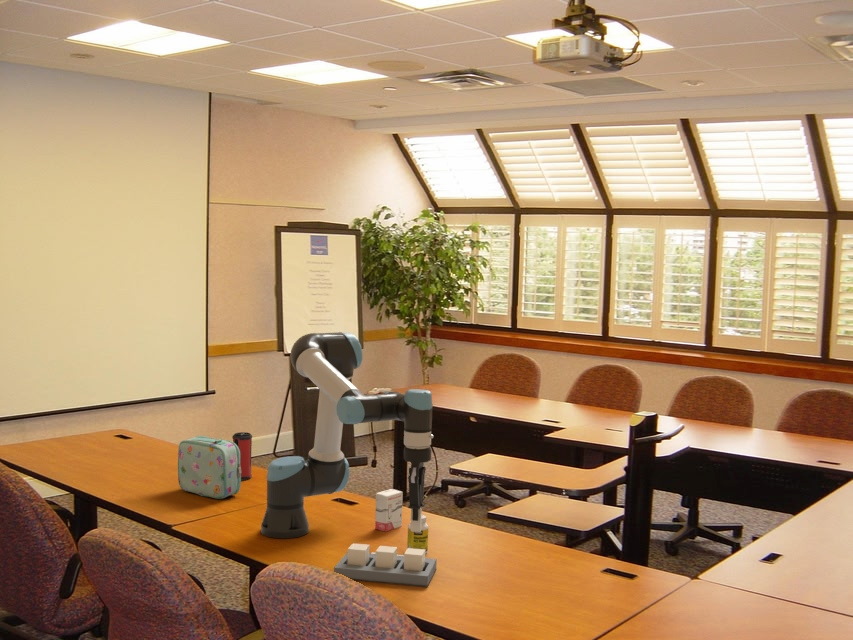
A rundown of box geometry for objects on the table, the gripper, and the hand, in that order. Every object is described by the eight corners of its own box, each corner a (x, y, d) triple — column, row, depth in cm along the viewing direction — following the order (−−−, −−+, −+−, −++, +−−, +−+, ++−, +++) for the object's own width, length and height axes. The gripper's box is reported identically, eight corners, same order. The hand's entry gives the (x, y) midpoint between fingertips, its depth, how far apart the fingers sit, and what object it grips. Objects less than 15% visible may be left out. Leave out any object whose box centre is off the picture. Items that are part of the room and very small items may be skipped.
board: (333, 578, 234) (334, 567, 233) (347, 561, 247) (348, 551, 247) (427, 587, 229) (427, 576, 229) (436, 569, 243) (436, 559, 242)
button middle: (375, 567, 236) (375, 551, 236) (379, 561, 241) (380, 545, 241) (393, 568, 235) (393, 552, 235) (397, 562, 240) (397, 547, 240)
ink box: (385, 532, 276) (386, 496, 275) (374, 529, 279) (374, 493, 278) (402, 526, 283) (403, 491, 282) (391, 523, 286) (392, 488, 285)
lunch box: (246, 496, 314) (247, 439, 313) (225, 503, 305) (226, 443, 304) (195, 485, 328) (196, 430, 327) (174, 491, 319) (175, 434, 318)
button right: (403, 569, 234) (404, 553, 234) (407, 563, 239) (407, 548, 239) (421, 571, 234) (422, 555, 233) (425, 565, 238) (425, 549, 238)
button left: (347, 564, 237) (347, 548, 237) (352, 558, 242) (352, 543, 242) (364, 566, 236) (365, 550, 236) (369, 560, 241) (369, 544, 241)
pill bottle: (412, 557, 253) (413, 520, 252) (403, 550, 258) (404, 514, 257) (431, 554, 256) (432, 518, 255) (421, 548, 261) (422, 512, 260)
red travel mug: (249, 481, 337) (249, 435, 336) (229, 480, 337) (230, 435, 336) (253, 476, 345) (254, 432, 344) (234, 475, 345) (235, 431, 344)
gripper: (426, 451, 227) (425, 539, 229) (435, 442, 240) (433, 525, 241) (399, 450, 229) (397, 536, 230) (408, 441, 242) (407, 523, 243)
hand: (415, 530), depth 236 cm, fingers closed
